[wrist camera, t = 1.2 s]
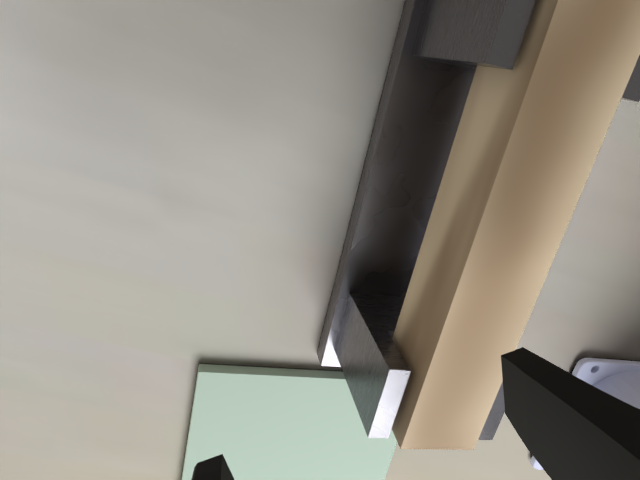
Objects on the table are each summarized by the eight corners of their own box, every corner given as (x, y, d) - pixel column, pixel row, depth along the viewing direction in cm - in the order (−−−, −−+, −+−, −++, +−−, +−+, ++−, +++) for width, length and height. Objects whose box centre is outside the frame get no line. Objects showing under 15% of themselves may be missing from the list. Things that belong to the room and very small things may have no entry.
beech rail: (590, -12, 15) (671, -21, 13) (440, 395, 21) (473, 449, 18) (509, -38, 15) (576, -54, 12) (375, 392, 20) (400, 449, 17)
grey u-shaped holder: (560, -22, 19) (715, -46, 13) (427, 360, 25) (492, 459, 19) (421, -66, 17) (527, -115, 12) (316, 353, 24) (350, 458, 18)
